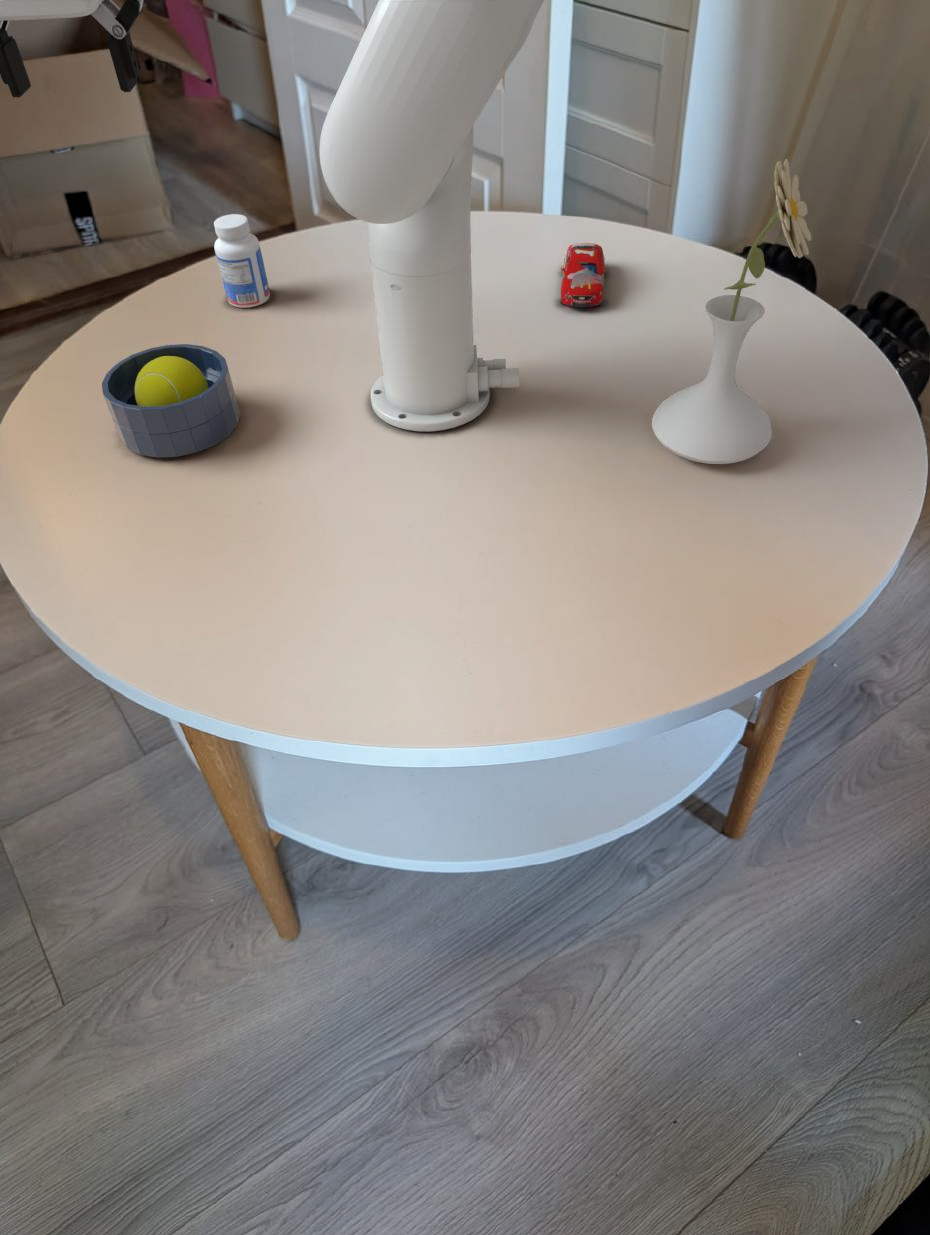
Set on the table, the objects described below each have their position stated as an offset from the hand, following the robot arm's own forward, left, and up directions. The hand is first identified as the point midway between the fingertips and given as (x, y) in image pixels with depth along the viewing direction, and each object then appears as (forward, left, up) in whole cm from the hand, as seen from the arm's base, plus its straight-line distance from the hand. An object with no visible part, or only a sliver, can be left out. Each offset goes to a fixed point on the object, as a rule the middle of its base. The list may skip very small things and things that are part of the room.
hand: (76, 90), depth 78 cm
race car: (-49, -16, -28) cm, 59 cm away
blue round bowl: (-4, +11, -28) cm, 31 cm away
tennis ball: (-4, +11, -28) cm, 30 cm away
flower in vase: (-58, +17, -28) cm, 67 cm away
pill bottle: (-7, -17, -28) cm, 34 cm away
